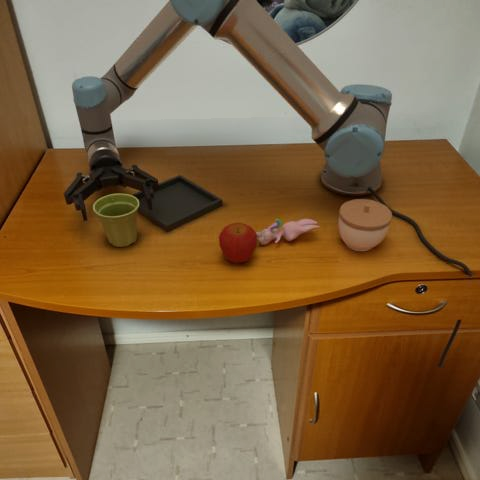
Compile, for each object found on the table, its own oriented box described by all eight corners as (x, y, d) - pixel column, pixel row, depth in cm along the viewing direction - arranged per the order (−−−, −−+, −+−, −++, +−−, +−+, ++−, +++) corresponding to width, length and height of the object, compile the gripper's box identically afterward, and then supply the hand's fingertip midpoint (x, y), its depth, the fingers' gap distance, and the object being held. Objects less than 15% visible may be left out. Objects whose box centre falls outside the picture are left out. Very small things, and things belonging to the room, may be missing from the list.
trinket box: (384, 260, 100) (395, 222, 94) (332, 254, 102) (339, 216, 95) (384, 232, 108) (393, 194, 101) (336, 226, 109) (342, 189, 103)
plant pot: (103, 228, 109) (95, 193, 102) (145, 226, 109) (140, 192, 103) (98, 253, 102) (89, 217, 96) (143, 251, 102) (137, 215, 96)
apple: (255, 246, 104) (256, 215, 98) (257, 269, 98) (258, 237, 93) (219, 247, 104) (218, 215, 98) (219, 270, 98) (218, 238, 92)
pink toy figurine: (256, 256, 103) (323, 239, 104) (252, 234, 99) (322, 216, 99) (250, 240, 108) (314, 223, 108) (246, 218, 103) (313, 200, 104)
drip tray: (222, 205, 116) (222, 199, 114) (167, 232, 107) (166, 226, 106) (180, 180, 124) (179, 174, 123) (125, 203, 116) (124, 197, 115)
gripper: (159, 170, 120) (178, 215, 105) (55, 186, 114) (60, 235, 100) (155, 141, 114) (174, 184, 100) (46, 156, 109) (50, 203, 95)
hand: (117, 209), depth 100 cm, fingers open, 13 cm apart
